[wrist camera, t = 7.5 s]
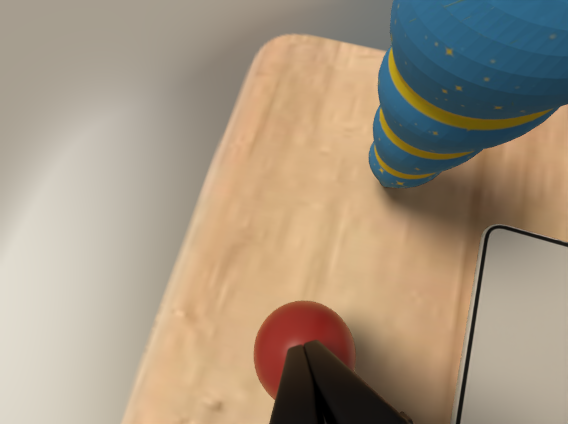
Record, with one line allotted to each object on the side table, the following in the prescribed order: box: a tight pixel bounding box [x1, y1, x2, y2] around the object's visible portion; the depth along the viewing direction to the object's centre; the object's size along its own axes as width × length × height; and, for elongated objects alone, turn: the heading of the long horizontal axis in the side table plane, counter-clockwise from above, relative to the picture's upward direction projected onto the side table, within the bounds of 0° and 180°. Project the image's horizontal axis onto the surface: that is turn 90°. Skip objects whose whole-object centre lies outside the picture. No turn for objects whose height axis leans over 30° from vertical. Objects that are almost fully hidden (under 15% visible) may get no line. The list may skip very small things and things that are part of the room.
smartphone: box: [450, 224, 568, 424], centre depth 16 cm, size 7×1×15 cm
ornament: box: [369, 0, 568, 188], centre depth 11 cm, size 5×5×15 cm
